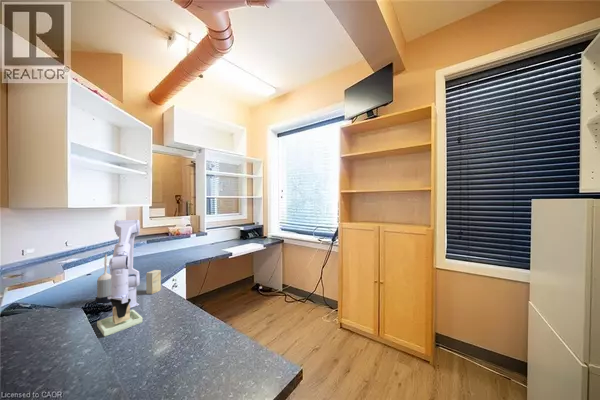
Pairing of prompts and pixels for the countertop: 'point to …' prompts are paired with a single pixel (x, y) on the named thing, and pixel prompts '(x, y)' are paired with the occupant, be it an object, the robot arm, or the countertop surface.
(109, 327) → the tray
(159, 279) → the light wooden block
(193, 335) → the countertop surface
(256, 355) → the countertop surface
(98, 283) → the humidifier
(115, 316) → the block
